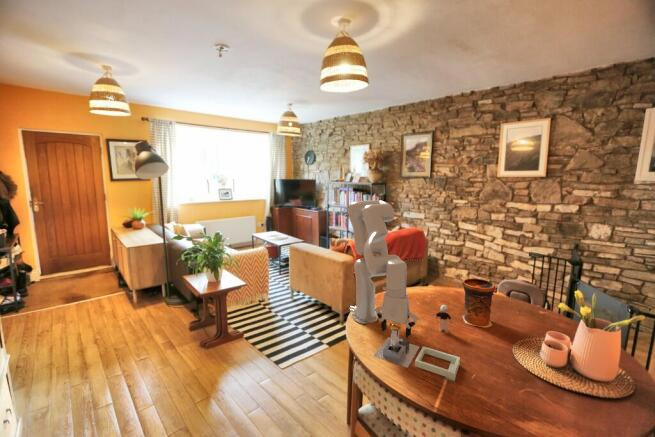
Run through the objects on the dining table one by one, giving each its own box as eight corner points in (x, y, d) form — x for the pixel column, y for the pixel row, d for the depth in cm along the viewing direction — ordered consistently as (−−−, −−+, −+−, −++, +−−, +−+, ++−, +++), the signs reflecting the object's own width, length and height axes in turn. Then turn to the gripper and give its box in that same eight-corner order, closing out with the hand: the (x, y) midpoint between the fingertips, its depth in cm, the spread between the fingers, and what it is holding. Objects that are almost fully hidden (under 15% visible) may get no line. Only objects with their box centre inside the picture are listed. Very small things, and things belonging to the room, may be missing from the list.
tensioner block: (373, 358, 120) (373, 349, 120) (388, 339, 133) (388, 330, 133) (407, 370, 113) (407, 360, 112) (419, 348, 126) (420, 340, 125)
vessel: (460, 325, 144) (463, 285, 141) (459, 312, 157) (462, 276, 154) (494, 331, 139) (497, 289, 136) (490, 317, 152) (493, 279, 149)
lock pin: (387, 356, 120) (387, 325, 118) (391, 350, 123) (391, 320, 121) (397, 359, 117) (398, 328, 115) (401, 353, 121) (402, 323, 119)
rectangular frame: (414, 368, 114) (415, 360, 113) (422, 353, 123) (423, 346, 122) (454, 381, 106) (454, 373, 106) (459, 364, 115) (459, 357, 115)
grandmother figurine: (451, 329, 140) (452, 304, 138) (451, 334, 137) (453, 308, 135) (434, 327, 143) (435, 302, 141) (434, 331, 139) (435, 305, 137)
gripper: (371, 290, 117) (371, 331, 120) (415, 299, 108) (414, 343, 110) (379, 284, 124) (379, 323, 126) (421, 292, 114) (420, 334, 117)
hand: (395, 333), depth 118 cm, fingers open, 9 cm apart
